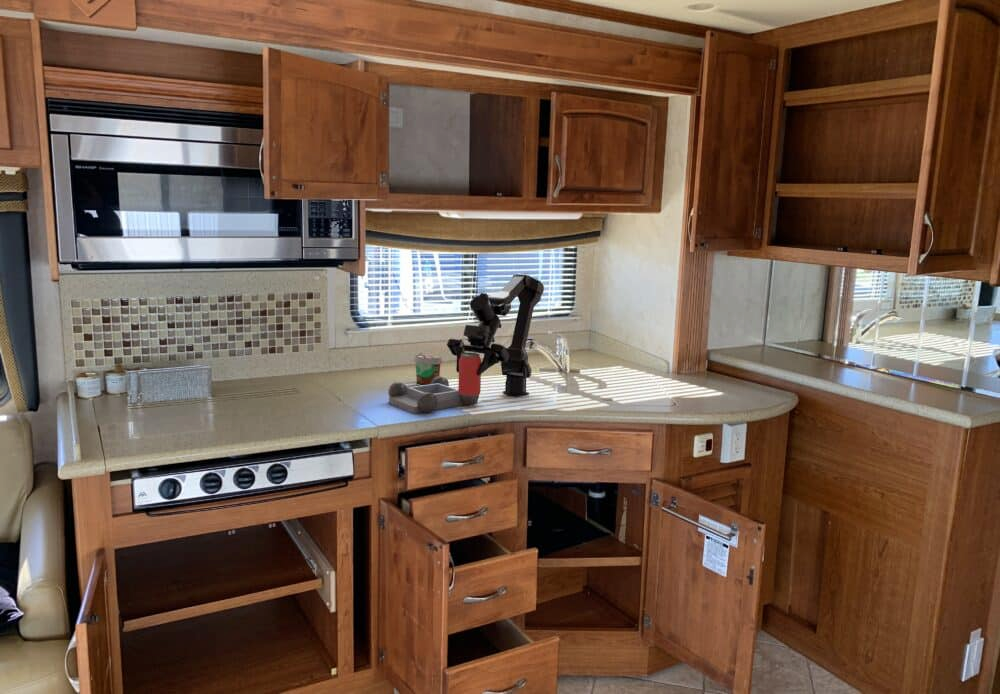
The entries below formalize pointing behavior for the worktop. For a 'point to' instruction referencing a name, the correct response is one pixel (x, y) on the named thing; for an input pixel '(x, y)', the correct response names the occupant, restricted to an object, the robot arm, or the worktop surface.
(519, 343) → the robot arm
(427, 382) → the food container
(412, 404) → the chassis
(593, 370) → the worktop surface
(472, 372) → the beer can
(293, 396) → the worktop surface
